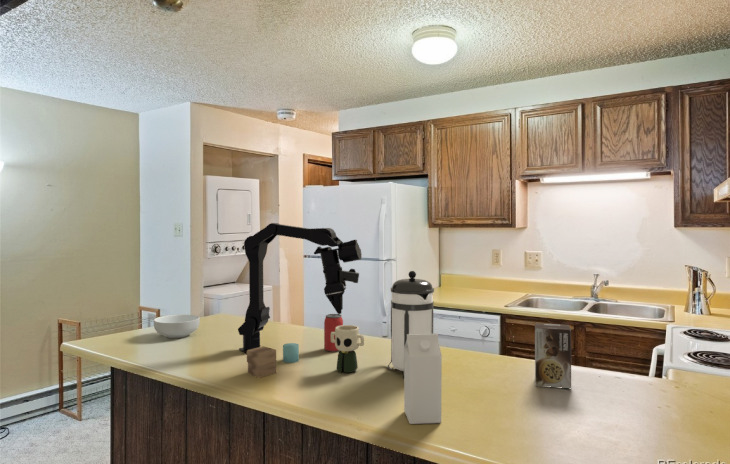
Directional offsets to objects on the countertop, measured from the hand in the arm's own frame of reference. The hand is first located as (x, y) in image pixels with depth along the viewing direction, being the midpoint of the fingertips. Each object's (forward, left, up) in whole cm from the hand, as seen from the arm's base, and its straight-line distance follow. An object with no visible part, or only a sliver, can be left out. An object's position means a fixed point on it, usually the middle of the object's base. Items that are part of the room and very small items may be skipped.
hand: (340, 311), depth 153 cm
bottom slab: (-2, -28, -15) cm, 32 cm away
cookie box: (+59, +27, -15) cm, 67 cm away
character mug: (+13, -8, -15) cm, 21 cm away
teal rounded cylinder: (-7, -15, -15) cm, 22 cm away
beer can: (-8, +3, -15) cm, 17 cm away
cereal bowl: (-64, -31, -15) cm, 73 cm away
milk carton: (+50, -16, -15) cm, 55 cm away
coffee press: (+25, +6, -15) cm, 30 cm away
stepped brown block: (-2, -28, -12) cm, 30 cm away
